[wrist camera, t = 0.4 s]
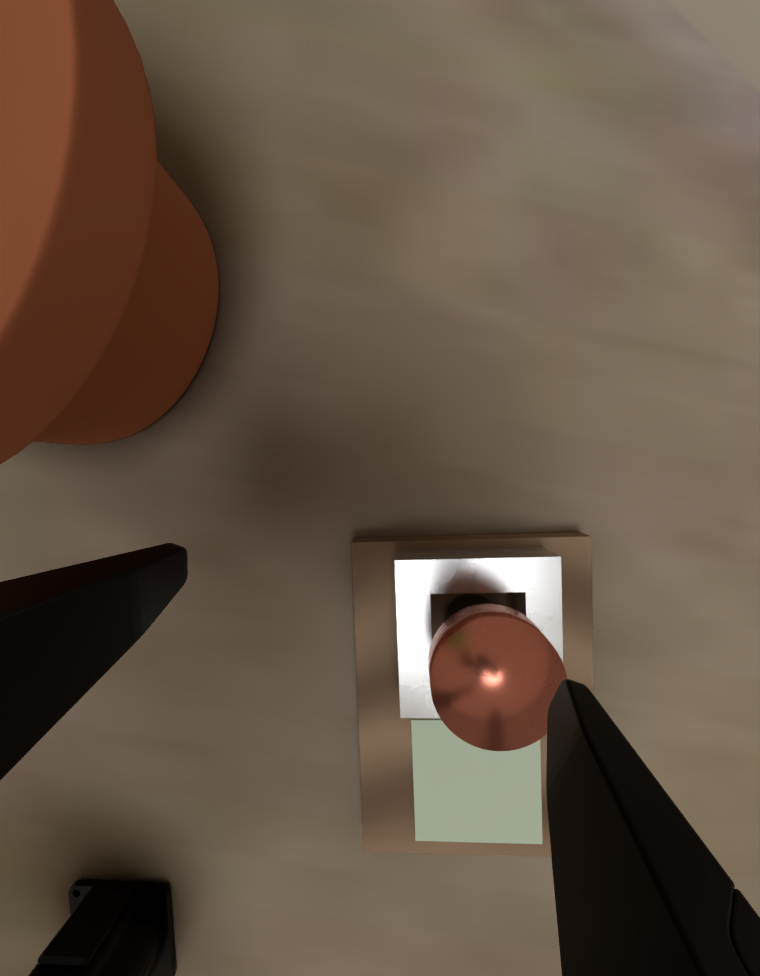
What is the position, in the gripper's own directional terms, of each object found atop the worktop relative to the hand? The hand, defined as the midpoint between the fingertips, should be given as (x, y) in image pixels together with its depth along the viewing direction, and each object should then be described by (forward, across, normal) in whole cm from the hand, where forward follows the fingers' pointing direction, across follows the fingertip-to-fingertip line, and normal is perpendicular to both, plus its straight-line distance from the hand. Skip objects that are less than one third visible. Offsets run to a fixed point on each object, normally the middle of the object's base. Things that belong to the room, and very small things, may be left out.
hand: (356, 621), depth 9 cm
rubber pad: (+9, -7, +16) cm, 20 cm away
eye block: (+12, -4, +8) cm, 15 cm away
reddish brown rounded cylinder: (+12, -4, +8) cm, 15 cm away
